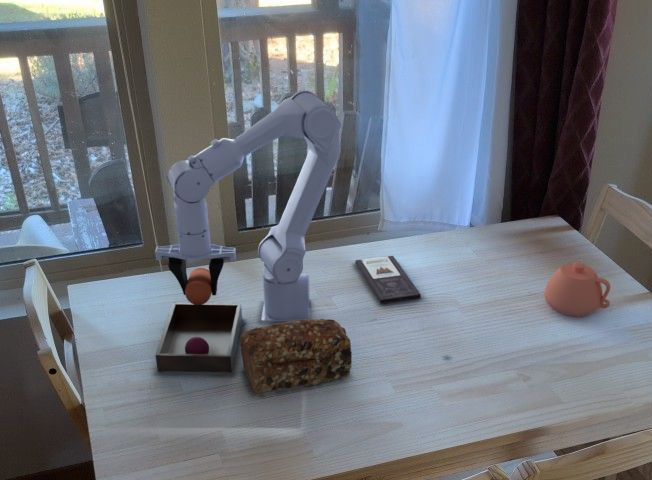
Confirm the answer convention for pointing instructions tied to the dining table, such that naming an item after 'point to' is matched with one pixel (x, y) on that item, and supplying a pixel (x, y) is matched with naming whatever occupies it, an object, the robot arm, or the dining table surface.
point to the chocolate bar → (387, 279)
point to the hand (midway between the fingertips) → (200, 292)
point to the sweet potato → (198, 286)
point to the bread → (295, 354)
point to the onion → (197, 346)
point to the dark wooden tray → (200, 321)
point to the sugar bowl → (576, 290)
